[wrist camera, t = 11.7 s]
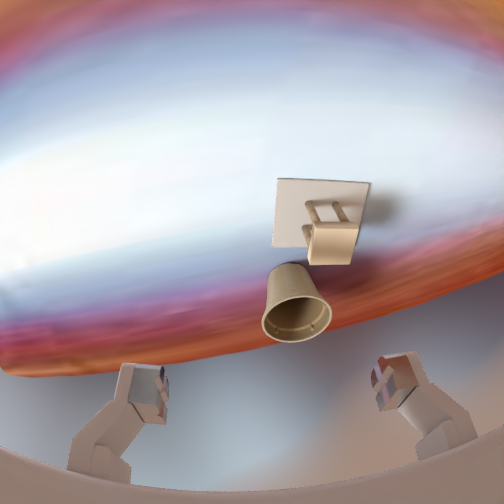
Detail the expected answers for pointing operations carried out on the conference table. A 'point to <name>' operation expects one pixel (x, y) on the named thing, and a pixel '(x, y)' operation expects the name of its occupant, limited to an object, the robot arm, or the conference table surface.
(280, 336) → the flower pot
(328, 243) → the stool
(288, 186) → the mat
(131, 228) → the conference table surface
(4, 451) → the robot arm
